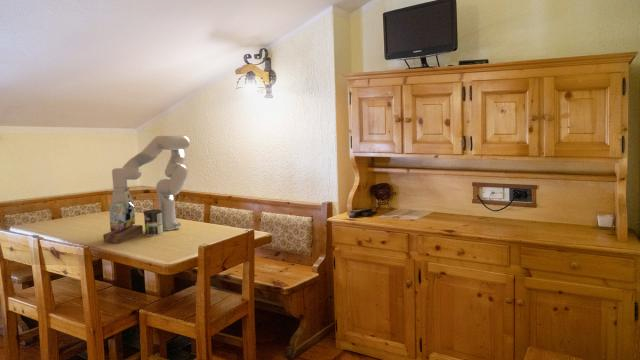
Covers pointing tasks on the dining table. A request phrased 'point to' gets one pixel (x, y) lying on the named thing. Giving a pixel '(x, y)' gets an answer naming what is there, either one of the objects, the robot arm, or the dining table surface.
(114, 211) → the snack box
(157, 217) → the coffee can
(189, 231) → the dining table surface
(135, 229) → the walnut block
